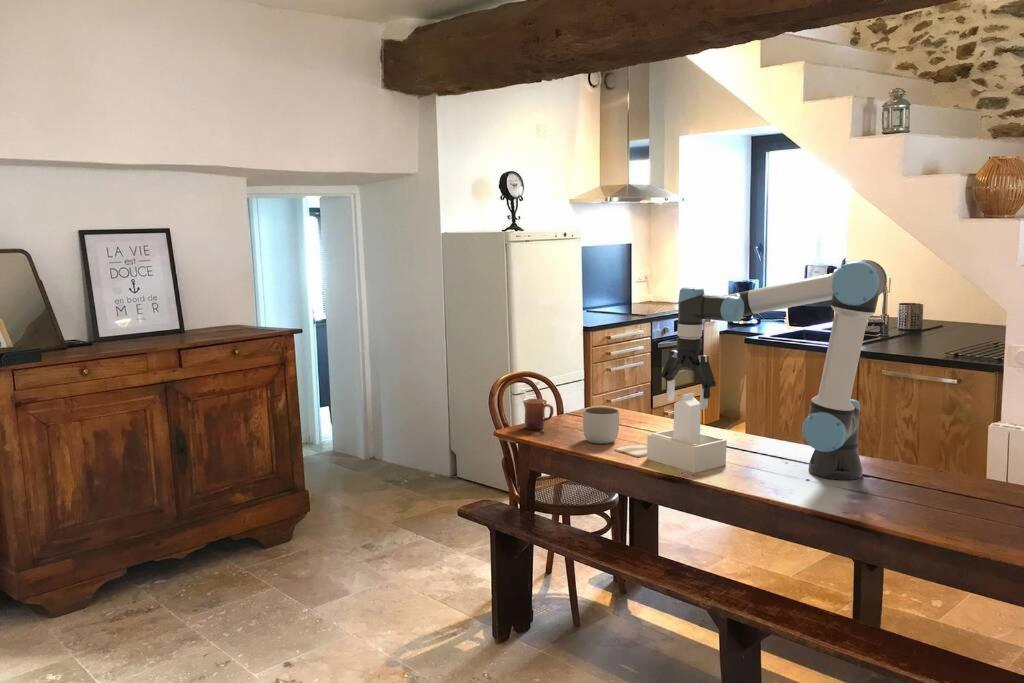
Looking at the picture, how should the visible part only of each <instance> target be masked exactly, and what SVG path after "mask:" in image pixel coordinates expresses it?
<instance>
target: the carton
mask: <svg viewBox="0 0 1024 683" xmlns="http://www.w3.org/2000/svg"><path fill="white" fill-rule="evenodd" d="M673 431H674V428H672V429H667V430H663V431H657V432H651V433H648V434H647V440H646V442H647V444H646V446H647V456H646V459H647V460H650V461H653V462H657V463H660V464H663V465H665V466H666V465H667V466H669V467H673V468H676V469H680V470H683V471H686V472H689V473H693V474H695V473H700V472H704V471H708V470H711V469H715V468H719V467H723V466H724V467H725V466H726V465H727V442H728V441H727V440H728V439H724V438H722V437H719V436H715V435H709V434H707V433H702V432H700V445H698V446H697V444H694V443H690V442H686V441H683V440H679V439H675V438H673Z"/></svg>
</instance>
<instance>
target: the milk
mask: <svg viewBox="0 0 1024 683" xmlns="http://www.w3.org/2000/svg"><path fill="white" fill-rule="evenodd" d="M694 394H695V393H694V392H689V393H684V394H682V395H681V399H680V400H678V401H676V402H674V404H673V429H674V431H673V438H675V439H679V440H683V441H686V442H690V443H694V444H697V446H698V445H700V433H701V418H702V417H701V415H702V414H701V413H702V409H700V400H697V398H695V396H694Z"/></svg>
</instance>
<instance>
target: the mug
mask: <svg viewBox="0 0 1024 683" xmlns="http://www.w3.org/2000/svg"><path fill="white" fill-rule="evenodd" d="M522 402H523V406H524V426H525V428H526V429H528V430H531V431H538V430H539V431H540V430H542V429H544V427H545V423H546V422H547V421H549V420H551V419H552V417H553V415H554V406H553V405H552V404H549V403H548V401H547V400H546V399H543V398H525V399H523V400H522ZM546 407H547V408H549V414H548V415H549V416H548V417H546V416H545V415H546V413H545V412H546V410H545V409H546Z"/></svg>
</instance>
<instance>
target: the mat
mask: <svg viewBox="0 0 1024 683" xmlns="http://www.w3.org/2000/svg"><path fill="white" fill-rule="evenodd" d="M614 451H616V452H620V453H621V454H625V455H629V456H632V457H636V458H638V459H639V458H643V457H647V445H645V444H640V443H635V444H629V445H625V446H621V447H615V448H614Z"/></svg>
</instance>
